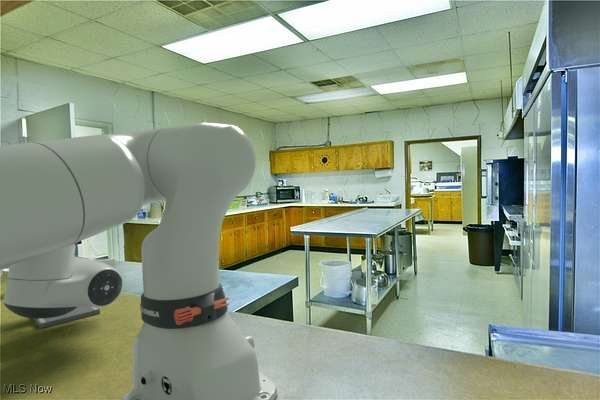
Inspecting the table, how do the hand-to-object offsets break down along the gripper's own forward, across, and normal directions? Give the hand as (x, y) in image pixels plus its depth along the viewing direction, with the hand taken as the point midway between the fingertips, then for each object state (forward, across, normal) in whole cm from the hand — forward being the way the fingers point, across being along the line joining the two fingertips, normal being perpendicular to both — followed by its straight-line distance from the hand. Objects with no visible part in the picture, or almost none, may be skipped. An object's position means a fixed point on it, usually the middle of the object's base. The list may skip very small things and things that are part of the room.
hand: (53, 271), depth 84 cm
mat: (+3, +2, -11) cm, 12 cm away
